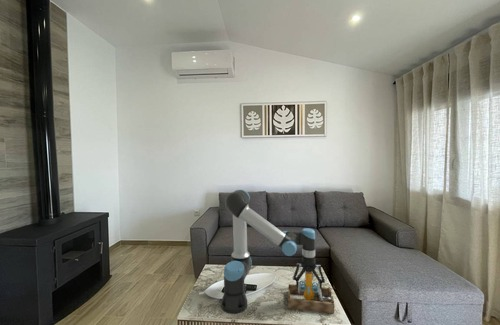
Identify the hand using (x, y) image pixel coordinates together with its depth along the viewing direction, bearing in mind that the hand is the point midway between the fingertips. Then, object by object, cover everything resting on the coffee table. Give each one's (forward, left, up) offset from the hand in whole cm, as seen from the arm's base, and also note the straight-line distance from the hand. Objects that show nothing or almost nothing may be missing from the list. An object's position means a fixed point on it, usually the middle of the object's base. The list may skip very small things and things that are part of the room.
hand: (308, 292), depth 136 cm
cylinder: (0, 0, -3) cm, 3 cm away
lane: (+1, 0, -5) cm, 5 cm away
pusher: (+10, 0, -5) cm, 11 cm away
